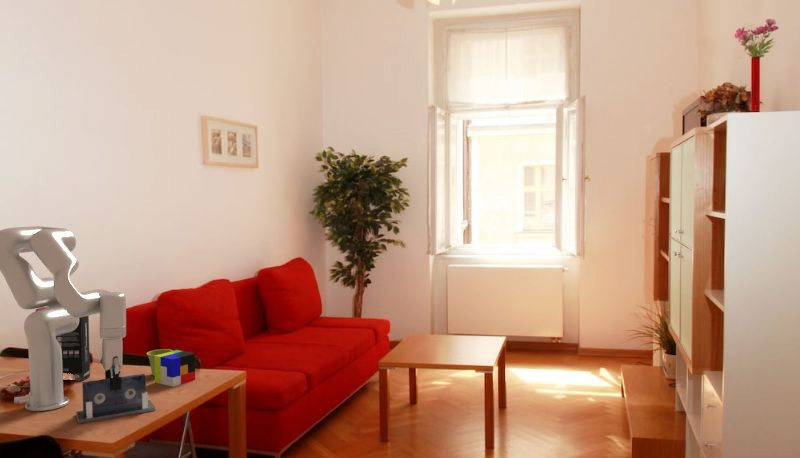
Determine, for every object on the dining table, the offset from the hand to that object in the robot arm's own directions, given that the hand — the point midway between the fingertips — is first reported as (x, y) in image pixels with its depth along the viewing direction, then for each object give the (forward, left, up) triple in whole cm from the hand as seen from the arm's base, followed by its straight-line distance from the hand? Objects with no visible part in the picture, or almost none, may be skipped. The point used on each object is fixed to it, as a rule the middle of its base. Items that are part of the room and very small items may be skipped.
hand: (113, 385), depth 207 cm
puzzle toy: (+25, +25, -9) cm, 36 cm away
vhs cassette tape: (0, 0, -8) cm, 8 cm away
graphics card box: (-10, +50, -9) cm, 52 cm away
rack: (+1, -1, -9) cm, 9 cm away
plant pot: (+22, +38, -9) cm, 45 cm away
